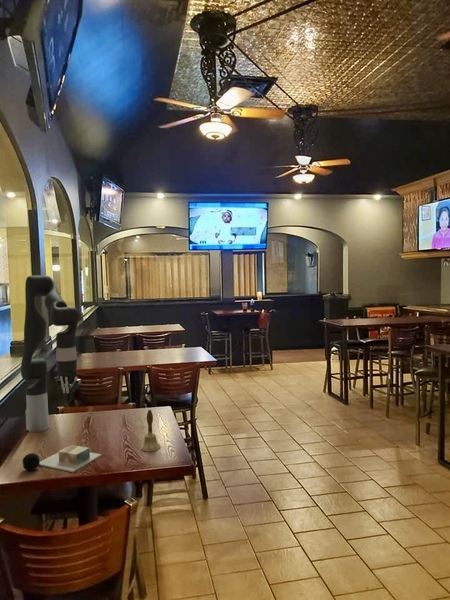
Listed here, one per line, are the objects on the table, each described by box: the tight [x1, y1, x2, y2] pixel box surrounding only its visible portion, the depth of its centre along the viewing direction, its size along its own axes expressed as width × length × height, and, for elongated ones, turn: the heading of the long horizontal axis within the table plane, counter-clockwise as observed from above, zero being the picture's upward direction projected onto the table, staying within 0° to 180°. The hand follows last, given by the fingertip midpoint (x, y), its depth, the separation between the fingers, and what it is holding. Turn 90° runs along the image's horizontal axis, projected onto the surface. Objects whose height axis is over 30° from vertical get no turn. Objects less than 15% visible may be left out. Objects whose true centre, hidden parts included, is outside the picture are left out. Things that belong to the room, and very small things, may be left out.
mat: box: [38, 451, 102, 473], centre depth 180 cm, size 18×16×1 cm
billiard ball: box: [22, 452, 41, 471], centre depth 172 cm, size 6×6×6 cm
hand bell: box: [139, 409, 161, 453], centre depth 190 cm, size 8×8×16 cm
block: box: [58, 444, 91, 465], centre depth 179 cm, size 4×7×9 cm
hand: (68, 401), depth 181 cm, fingers closed
